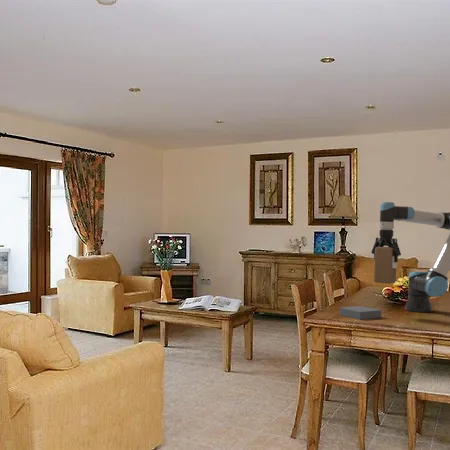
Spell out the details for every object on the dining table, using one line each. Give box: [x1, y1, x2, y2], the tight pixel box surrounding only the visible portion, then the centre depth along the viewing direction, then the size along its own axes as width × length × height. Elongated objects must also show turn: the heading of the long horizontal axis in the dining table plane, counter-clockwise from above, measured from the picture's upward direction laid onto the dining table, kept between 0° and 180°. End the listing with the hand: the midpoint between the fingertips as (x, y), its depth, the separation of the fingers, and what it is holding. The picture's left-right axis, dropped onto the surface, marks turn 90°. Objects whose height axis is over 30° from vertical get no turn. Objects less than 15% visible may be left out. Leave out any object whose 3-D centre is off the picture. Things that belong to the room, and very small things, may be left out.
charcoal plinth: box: [338, 305, 383, 321], centre depth 290 cm, size 16×16×4 cm
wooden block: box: [373, 246, 397, 284], centre depth 296 cm, size 10×10×20 cm
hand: (385, 267), depth 296 cm, fingers closed on wooden block, 13 cm apart
